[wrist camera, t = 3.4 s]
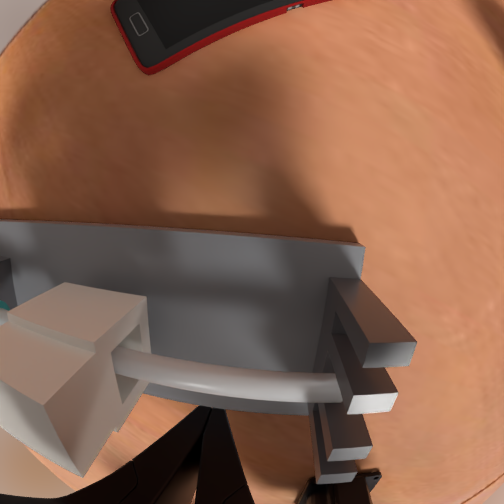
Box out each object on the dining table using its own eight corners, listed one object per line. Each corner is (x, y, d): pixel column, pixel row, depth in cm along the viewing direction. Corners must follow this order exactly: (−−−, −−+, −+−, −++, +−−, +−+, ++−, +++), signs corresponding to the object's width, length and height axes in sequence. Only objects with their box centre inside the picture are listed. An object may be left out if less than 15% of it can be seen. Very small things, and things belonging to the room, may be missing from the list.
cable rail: (359, 243, 13) (431, 290, 6) (324, 404, 15) (341, 496, 8) (-11, 218, 15) (-76, 233, 8) (7, 333, 17) (-44, 367, 10)
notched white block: (146, 296, 12) (38, 393, 5) (153, 375, 13) (86, 483, 6) (64, 282, 12) (-43, 339, 5) (77, 354, 13) (-2, 428, 6)
